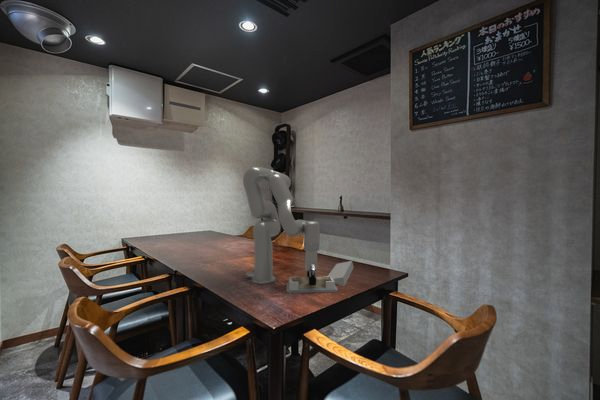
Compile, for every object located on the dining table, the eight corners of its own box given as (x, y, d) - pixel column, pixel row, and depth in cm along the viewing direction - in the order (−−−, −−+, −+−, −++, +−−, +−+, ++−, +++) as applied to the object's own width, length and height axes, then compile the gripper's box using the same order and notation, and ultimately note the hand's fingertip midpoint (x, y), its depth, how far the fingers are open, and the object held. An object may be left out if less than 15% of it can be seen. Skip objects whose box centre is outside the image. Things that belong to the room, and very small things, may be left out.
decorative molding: (326, 289, 134) (345, 286, 130) (324, 280, 134) (343, 277, 131) (338, 271, 166) (353, 268, 163) (336, 263, 166) (352, 260, 163)
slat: (295, 288, 124) (295, 279, 124) (295, 285, 128) (295, 277, 128) (328, 287, 125) (328, 279, 125) (327, 284, 129) (327, 276, 129)
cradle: (286, 292, 121) (286, 283, 121) (286, 285, 131) (286, 276, 131) (337, 291, 123) (337, 282, 122) (333, 284, 133) (333, 275, 132)
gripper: (302, 243, 135) (302, 276, 135) (305, 250, 117) (305, 288, 118) (317, 243, 135) (316, 276, 136) (322, 250, 118) (321, 288, 118)
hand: (311, 281), depth 127 cm, fingers open, 9 cm apart
